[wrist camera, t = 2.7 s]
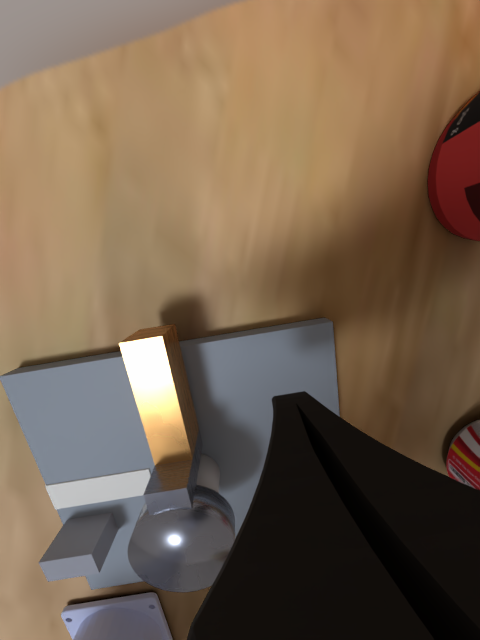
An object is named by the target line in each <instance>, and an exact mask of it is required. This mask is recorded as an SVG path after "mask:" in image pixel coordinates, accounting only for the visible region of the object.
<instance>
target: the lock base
mask: <svg viewBox="0 0 480 640" xmlns="http://www.w3.org/2000/svg"><path fill="white" fill-rule="evenodd" d="M179 344H180V348H181V352H182V357H183V361H184V365H185V370H186V374H187V378H188V383H189V387H190V391H191V395H192V400H193V404H194V408H195V413H196V417H197V421H198V426H199V430H200V434H201V438H202V443H203V446H202V452H201V458H200V464H199V470H198V476H197V482H196V485H201V486H205V487H208V488H210V489H212V490H214V491H216V492H218V493H219V494H220V495H222V496H223V497H224V498H225V499H226V500H227V501H228V502H229V504H230V505H231V507H232V509H233V512H234V515H235V539H236V536H237V534H238V532H239V530H240V528H241V526H242V523H243V521H244V519H245V517H246V514H247V512H248V509H249V507H250V504H251V502H252V499H253V496H254V494H255V491H256V488H257V485H258V482H259V479H260V476H261V473H262V470H263V466H264V463H265V459H266V455H267V451H268V446H269V442H270V437H271V431H272V422H273V406H272V398H273V397H274V396H278V395H284V394H290V393H296V392H303V391H305V392H307V393H308V394H309V395H311V396H312V397H313V398H315V399H316V400H317V401H319V402H320V403H321V404H323V405H324V406H325V407H327V408H328V409H329V410H331V411H332V412H333V413H335V414H336V415H338V416H339V417H340V414H339V400H338V386H337V372H336V359H335V345H334V331H333V322H332V321H330V320H329V319H327V318H319V319H313V320H307V321H301V322H295V323H288V324H282V325H276V326H270V327H264V328H258V329H252V330H246V331H240V332H234V333H228V334H222V335H216V336H210V337H204V338H197V339H191V340H185V341H179ZM0 380H1V382H2V384H3V387H4V389H5V391H6V394H7V396H8V398H9V401H10V403H11V405H12V408H13V410H14V412H15V415H16V417H17V419H18V421H19V424H20V426H21V428H22V431H23V433H24V435H25V438H26V440H27V442H28V445H29V447H30V449H31V451H32V454H33V456H34V458H35V461H36V463H37V465H38V468H39V470H40V472H41V475H42V477H43V479H44V481H45V484H46V486H45V487H46V489H47V492H48V494H49V496H50V499H51V501H52V503H53V505H54V508H55V509H57V511H58V514H59V516H60V518H61V521H62V523H63V527H62V528H61V530H60V531H59V533H58V534H57V536H56V537H55V539H54V540H53V542H52V543H51V545H50V546H49V548H48V549H47V551H46V552H45V554H44V555H43V557H42V559H41V560H40V562H39V564H40V566H41V568H42V570H43V572H44V574H45V576H46V578H47V580H48V582H49V581H55V580H61V579H67V578H73V577H80V576H86V578H87V581H88V583H89V585H90V588H91V590H92V589H99V588H105V587H111V586H117V585H123V584H130V583H136V582H142V581H143V580H142V579H141V578H140V577H139V576H138V575H137V574H136V573H135V572H134V570H133V569H132V567H131V565H130V563H129V559H128V553H127V551H128V544H129V541H130V538H131V535H132V533H133V530H134V528H135V525H136V522H137V520H138V517H139V514H140V512H141V509H142V507H143V505H144V504H145V499H144V496H143V494H144V492H145V489H146V487H147V484H148V482H149V479H150V477H151V474H152V472H153V469H154V466H155V464H154V461H153V457H152V454H151V451H150V447H149V444H148V440H147V437H146V434H145V430H144V427H143V424H142V420H141V417H140V413H139V410H138V407H137V403H136V400H135V396H134V393H133V390H132V386H131V383H130V379H129V376H128V373H127V369H126V366H125V362H124V359H123V356H122V352H121V351H119V352H112V353H106V354H100V355H94V356H88V357H82V358H76V359H70V360H64V361H58V362H52V363H46V364H40V365H34V366H27V367H21V368H17V369H15V370H13V371H10V372H8V373H6V374H4V375H2V376H0Z"/></svg>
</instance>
